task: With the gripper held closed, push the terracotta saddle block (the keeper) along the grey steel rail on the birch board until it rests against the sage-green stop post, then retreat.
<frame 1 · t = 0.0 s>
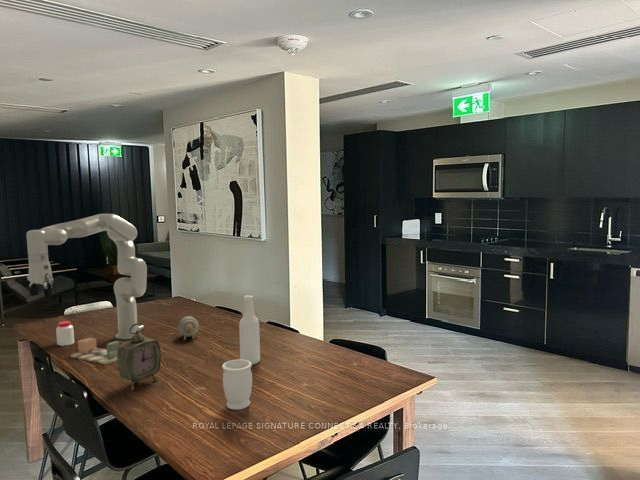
hand: (41, 296, 206), 31 cm above the table, fingers open, 9 cm apart
jar: (238, 405, 167), on the table
tabletop clock: (139, 384, 186), on the table
rail board: (99, 356, 219), on the table
toy sheep: (189, 337, 246), on the table
pill bottle: (65, 343, 239), on the table
alcohol: (250, 362, 209), on the table
keeper: (87, 345, 222), point 4 cm above the table, slide at 0.0 cm
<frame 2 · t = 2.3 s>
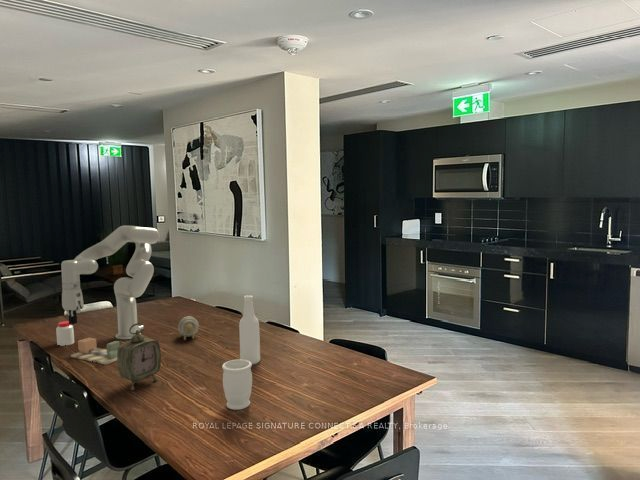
hand: (73, 323, 224), 14 cm above the table, fingers closed
nothing on the table moved.
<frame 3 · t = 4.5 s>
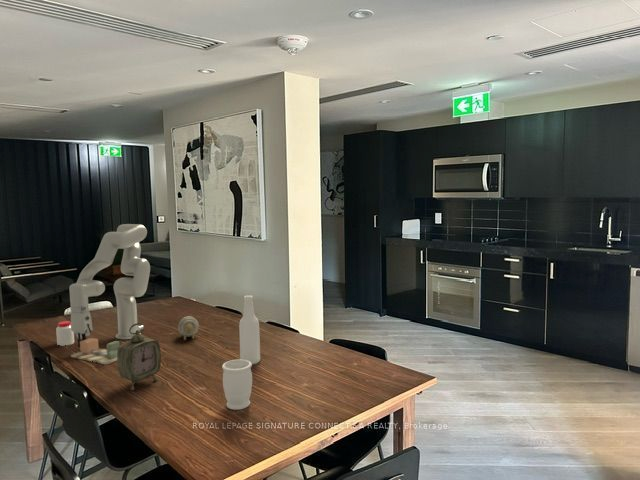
hand: (82, 346, 224), 3 cm above the table, fingers closed
keeper: (89, 345, 221), point 4 cm above the table, slide at 1.4 cm, touching gripper
everything else where it was.
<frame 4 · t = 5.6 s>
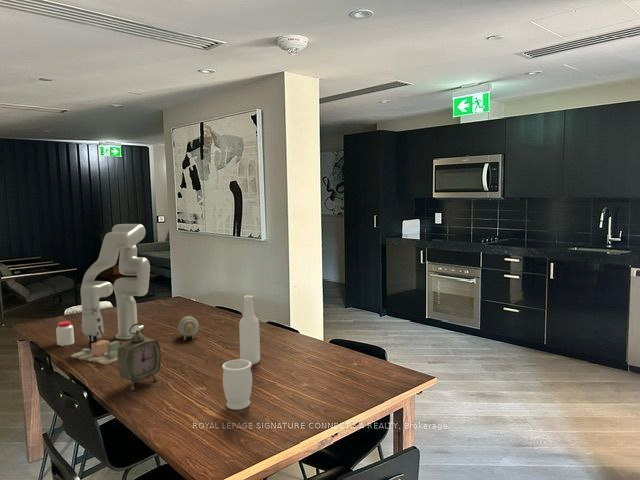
hand: (93, 348, 220), 3 cm above the table, fingers closed
keeper: (100, 348, 218), point 4 cm above the table, slide at 9.3 cm, touching gripper
everything else where it was.
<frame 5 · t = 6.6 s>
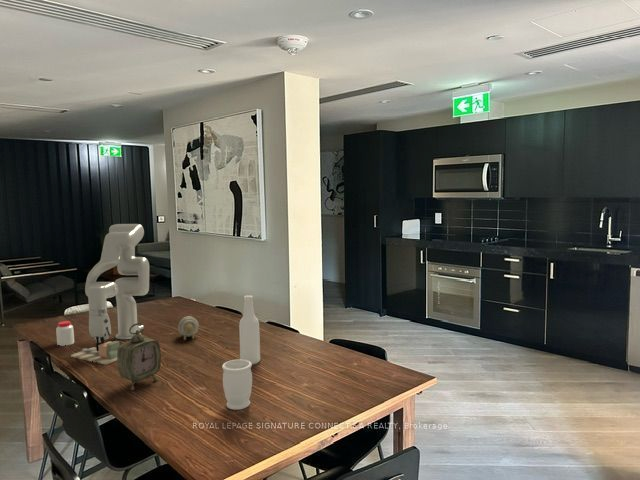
hand: (100, 350, 218), 3 cm above the table, fingers closed
keeper: (108, 349, 215), point 4 cm above the table, slide at 14.3 cm, touching gripper, rail board
everything else where it was.
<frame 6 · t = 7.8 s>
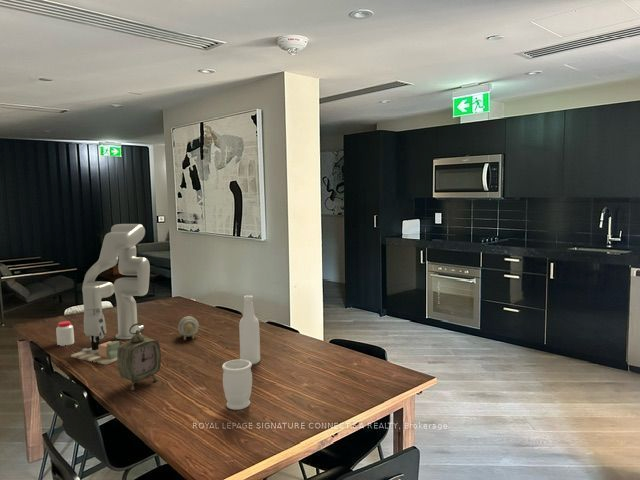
hand: (95, 349, 220), 3 cm above the table, fingers closed
keeper: (108, 349, 215), point 4 cm above the table, slide at 14.3 cm, touching rail board
everything else where it was.
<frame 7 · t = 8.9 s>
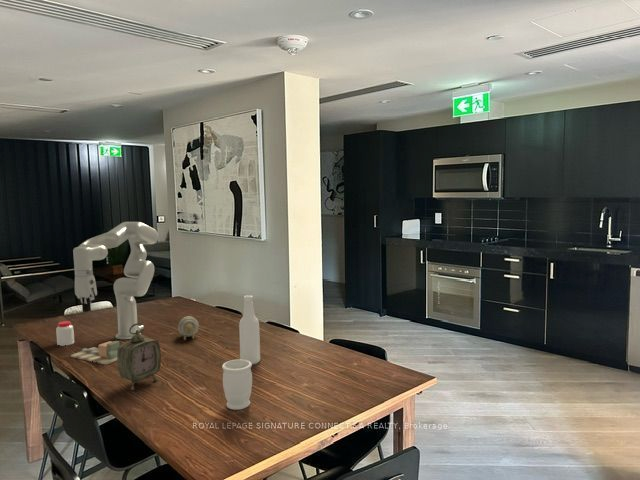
hand: (86, 311, 220), 21 cm above the table, fingers closed
nothing on the table moved.
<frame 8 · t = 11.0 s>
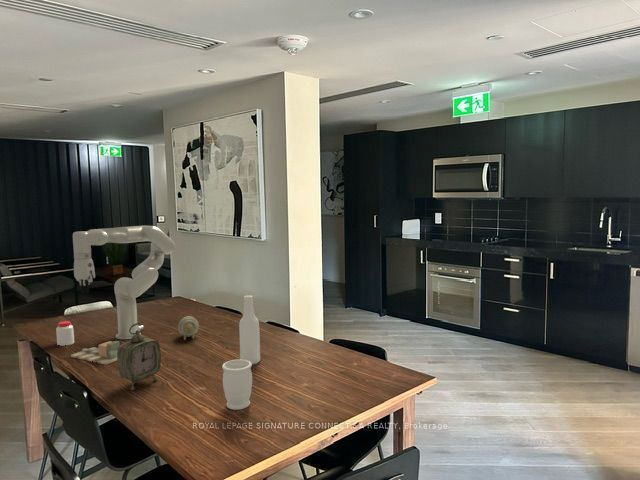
hand: (85, 293, 231), 27 cm above the table, fingers closed
nothing on the table moved.
at the end: keeper slide at 14.3 cm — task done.
